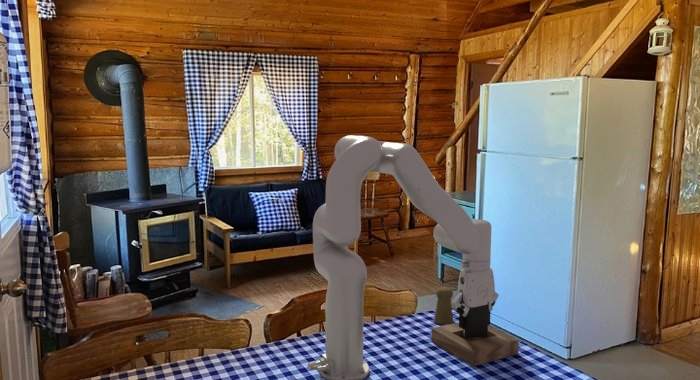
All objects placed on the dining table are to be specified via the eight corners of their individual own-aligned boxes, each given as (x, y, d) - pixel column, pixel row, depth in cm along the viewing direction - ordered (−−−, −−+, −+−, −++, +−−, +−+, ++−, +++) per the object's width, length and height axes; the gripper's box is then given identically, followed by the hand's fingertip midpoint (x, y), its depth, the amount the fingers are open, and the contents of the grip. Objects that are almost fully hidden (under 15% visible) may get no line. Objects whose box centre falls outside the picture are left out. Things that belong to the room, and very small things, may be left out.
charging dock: (473, 366, 140) (473, 351, 140) (431, 341, 156) (431, 328, 155) (518, 353, 148) (518, 340, 147) (474, 331, 163) (474, 318, 163)
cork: (432, 323, 170) (433, 289, 168) (435, 317, 175) (436, 284, 174) (452, 325, 168) (453, 291, 166) (454, 319, 174) (455, 286, 172)
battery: (484, 332, 154) (485, 293, 152) (488, 337, 150) (490, 297, 148) (460, 332, 153) (461, 293, 152) (464, 338, 149) (465, 298, 148)
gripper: (460, 272, 141) (458, 336, 144) (509, 263, 149) (507, 324, 152) (442, 265, 148) (441, 327, 150) (490, 257, 156) (488, 316, 158)
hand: (474, 325), depth 151 cm, fingers closed on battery, 7 cm apart
